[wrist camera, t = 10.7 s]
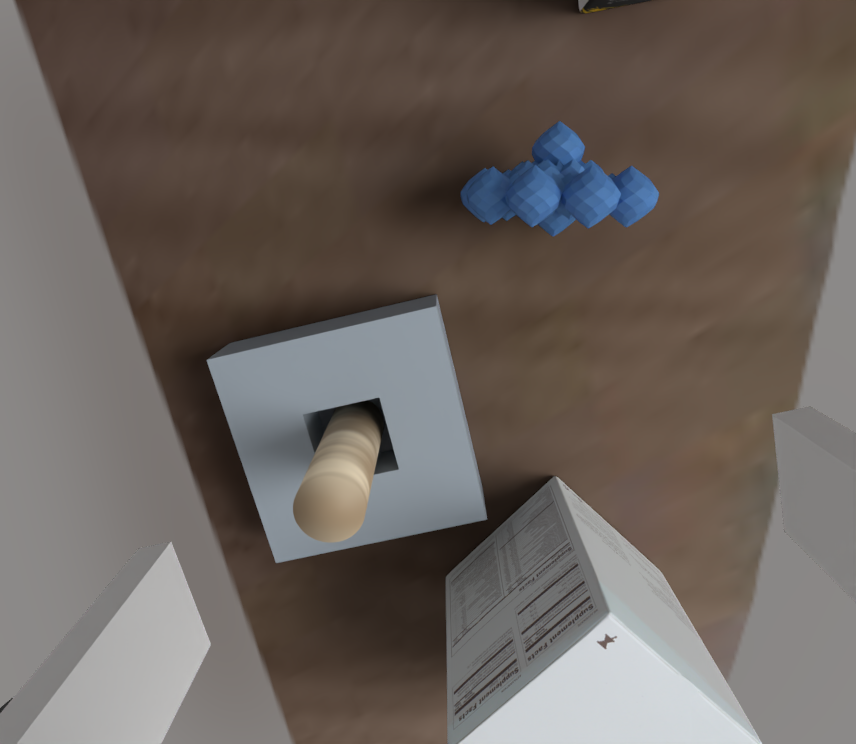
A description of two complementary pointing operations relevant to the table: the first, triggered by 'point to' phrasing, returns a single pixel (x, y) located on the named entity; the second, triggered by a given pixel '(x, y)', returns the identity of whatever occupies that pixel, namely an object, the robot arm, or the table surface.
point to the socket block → (345, 384)
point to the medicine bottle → (603, 4)
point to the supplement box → (576, 640)
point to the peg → (340, 474)
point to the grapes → (559, 188)
